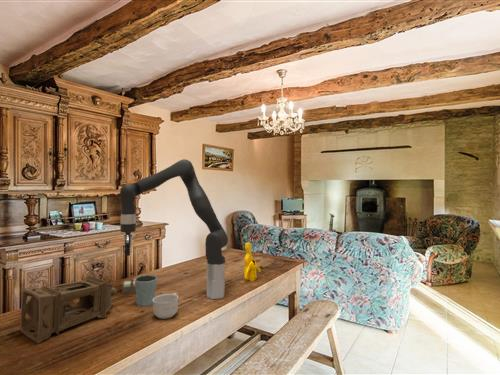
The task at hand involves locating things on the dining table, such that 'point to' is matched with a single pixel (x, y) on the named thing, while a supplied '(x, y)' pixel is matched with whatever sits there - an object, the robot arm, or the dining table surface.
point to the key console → (128, 289)
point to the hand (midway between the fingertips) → (127, 255)
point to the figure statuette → (250, 264)
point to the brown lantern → (63, 306)
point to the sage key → (127, 284)
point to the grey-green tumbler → (145, 289)
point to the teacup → (165, 305)
